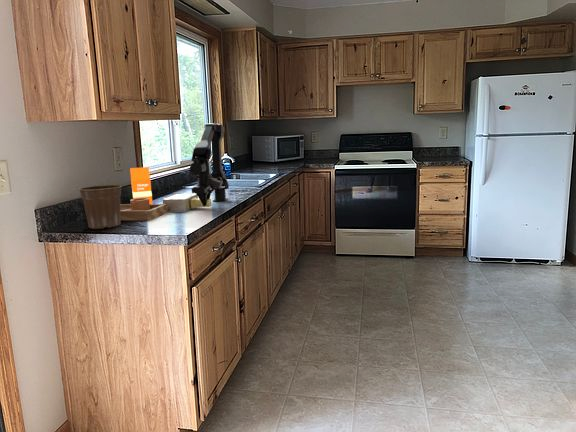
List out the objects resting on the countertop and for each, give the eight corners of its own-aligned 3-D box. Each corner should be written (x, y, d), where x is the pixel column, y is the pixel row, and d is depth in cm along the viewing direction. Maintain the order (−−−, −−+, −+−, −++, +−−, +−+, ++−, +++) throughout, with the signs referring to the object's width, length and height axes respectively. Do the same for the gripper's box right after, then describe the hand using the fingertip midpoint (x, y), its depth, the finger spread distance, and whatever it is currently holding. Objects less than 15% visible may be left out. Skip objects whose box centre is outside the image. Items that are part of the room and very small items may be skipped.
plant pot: (98, 222, 193) (93, 184, 190) (133, 221, 191) (129, 184, 187) (75, 230, 177) (69, 190, 174) (112, 230, 175) (107, 189, 172)
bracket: (142, 211, 213) (141, 197, 211) (154, 213, 208) (152, 198, 207) (109, 219, 198) (107, 203, 197) (120, 220, 194) (118, 205, 192)
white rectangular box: (177, 205, 226) (176, 194, 225) (198, 205, 224) (197, 193, 223) (163, 211, 211) (162, 199, 210) (185, 211, 209) (184, 199, 208)
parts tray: (115, 212, 214) (114, 204, 213) (167, 212, 209) (167, 204, 208) (94, 220, 197) (93, 211, 196) (150, 220, 192) (149, 211, 192)
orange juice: (153, 208, 223) (149, 167, 219) (134, 209, 220) (130, 168, 216) (152, 205, 231) (148, 166, 227) (133, 207, 228) (129, 167, 224)
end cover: (181, 206, 220) (180, 197, 219) (212, 206, 217) (211, 197, 217) (177, 208, 215) (176, 199, 214) (208, 208, 212) (207, 199, 212)
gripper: (213, 174, 202) (215, 208, 205) (226, 170, 220) (228, 202, 223) (189, 175, 204) (192, 209, 207) (204, 171, 222) (206, 202, 225)
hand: (206, 205), depth 215 cm, fingers closed on end cover, 3 cm apart
